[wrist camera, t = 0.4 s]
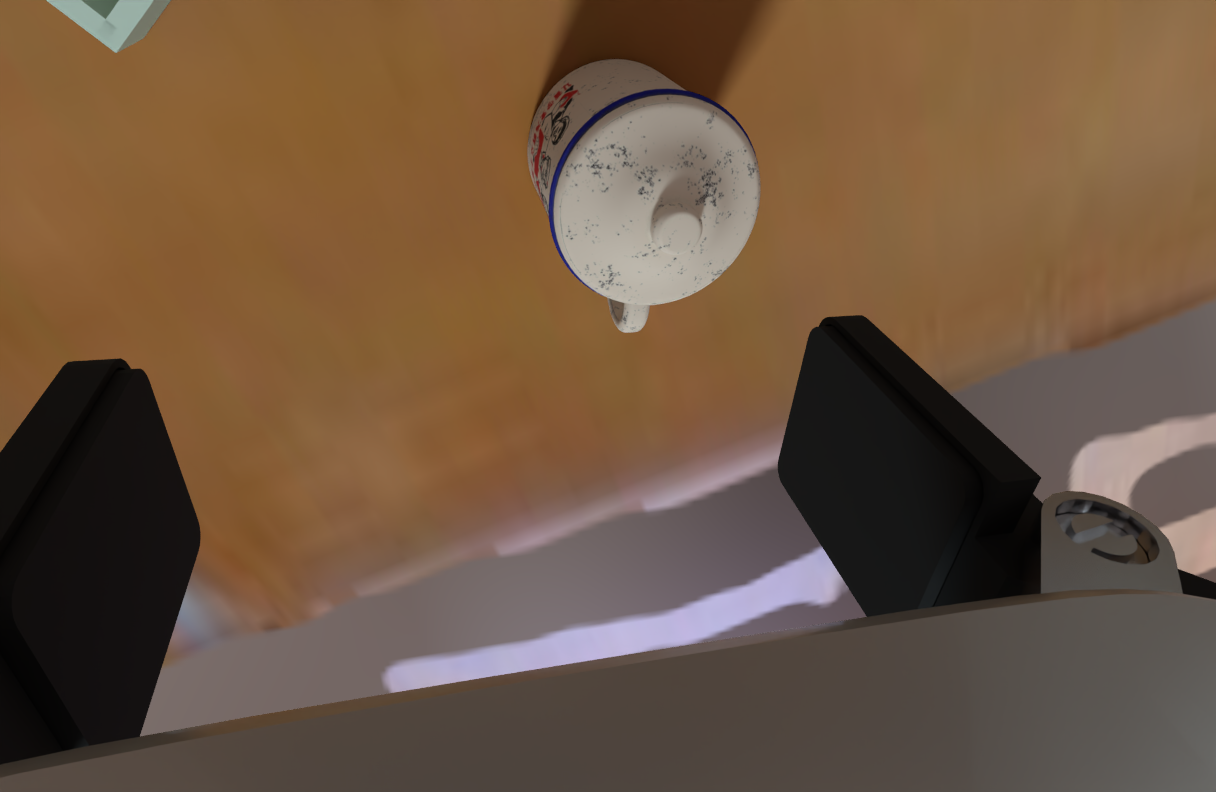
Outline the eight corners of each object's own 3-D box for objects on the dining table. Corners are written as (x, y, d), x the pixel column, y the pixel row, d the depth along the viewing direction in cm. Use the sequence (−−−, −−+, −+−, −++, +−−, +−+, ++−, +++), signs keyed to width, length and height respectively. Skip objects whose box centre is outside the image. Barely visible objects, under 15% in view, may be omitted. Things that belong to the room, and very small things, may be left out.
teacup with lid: (520, 49, 33) (565, 107, 24) (705, 54, 35) (814, 109, 26) (522, 286, 40) (559, 404, 31) (678, 279, 42) (757, 388, 33)
